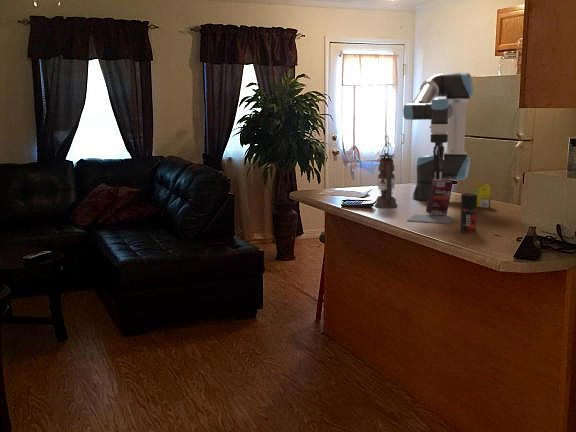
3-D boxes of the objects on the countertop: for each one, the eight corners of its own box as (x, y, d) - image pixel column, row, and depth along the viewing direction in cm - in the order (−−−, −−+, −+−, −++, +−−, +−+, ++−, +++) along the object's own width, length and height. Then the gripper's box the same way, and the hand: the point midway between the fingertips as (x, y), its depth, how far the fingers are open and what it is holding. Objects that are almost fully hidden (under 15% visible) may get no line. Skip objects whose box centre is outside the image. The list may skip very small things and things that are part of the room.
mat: (415, 215, 285) (415, 214, 284) (455, 217, 277) (455, 216, 277) (406, 221, 271) (407, 220, 271) (449, 223, 264) (449, 222, 264)
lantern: (393, 203, 318) (394, 134, 311) (400, 208, 302) (401, 136, 295) (372, 204, 317) (372, 134, 311) (378, 209, 301) (378, 136, 295)
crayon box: (490, 207, 302) (491, 183, 300) (488, 207, 300) (489, 183, 297) (475, 205, 306) (475, 182, 304) (473, 206, 304) (474, 183, 301)
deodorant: (473, 230, 250) (474, 193, 247) (477, 233, 244) (479, 195, 242) (458, 230, 250) (459, 193, 247) (462, 233, 244) (464, 195, 241)
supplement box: (430, 215, 280) (436, 181, 275) (425, 212, 284) (431, 178, 279) (447, 215, 282) (453, 182, 277) (442, 212, 287) (448, 178, 282)
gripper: (433, 132, 286) (432, 183, 290) (427, 134, 275) (426, 187, 279) (450, 132, 283) (449, 184, 287) (444, 134, 271) (443, 188, 276)
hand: (437, 185), depth 283 cm, fingers closed
